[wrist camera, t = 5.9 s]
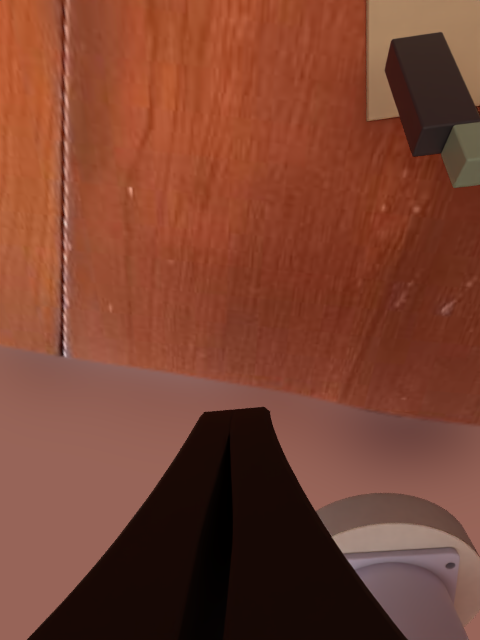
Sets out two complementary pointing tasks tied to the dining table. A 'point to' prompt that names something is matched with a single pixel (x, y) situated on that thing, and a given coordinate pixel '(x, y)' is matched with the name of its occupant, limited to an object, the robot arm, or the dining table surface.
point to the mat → (410, 20)
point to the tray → (435, 105)
